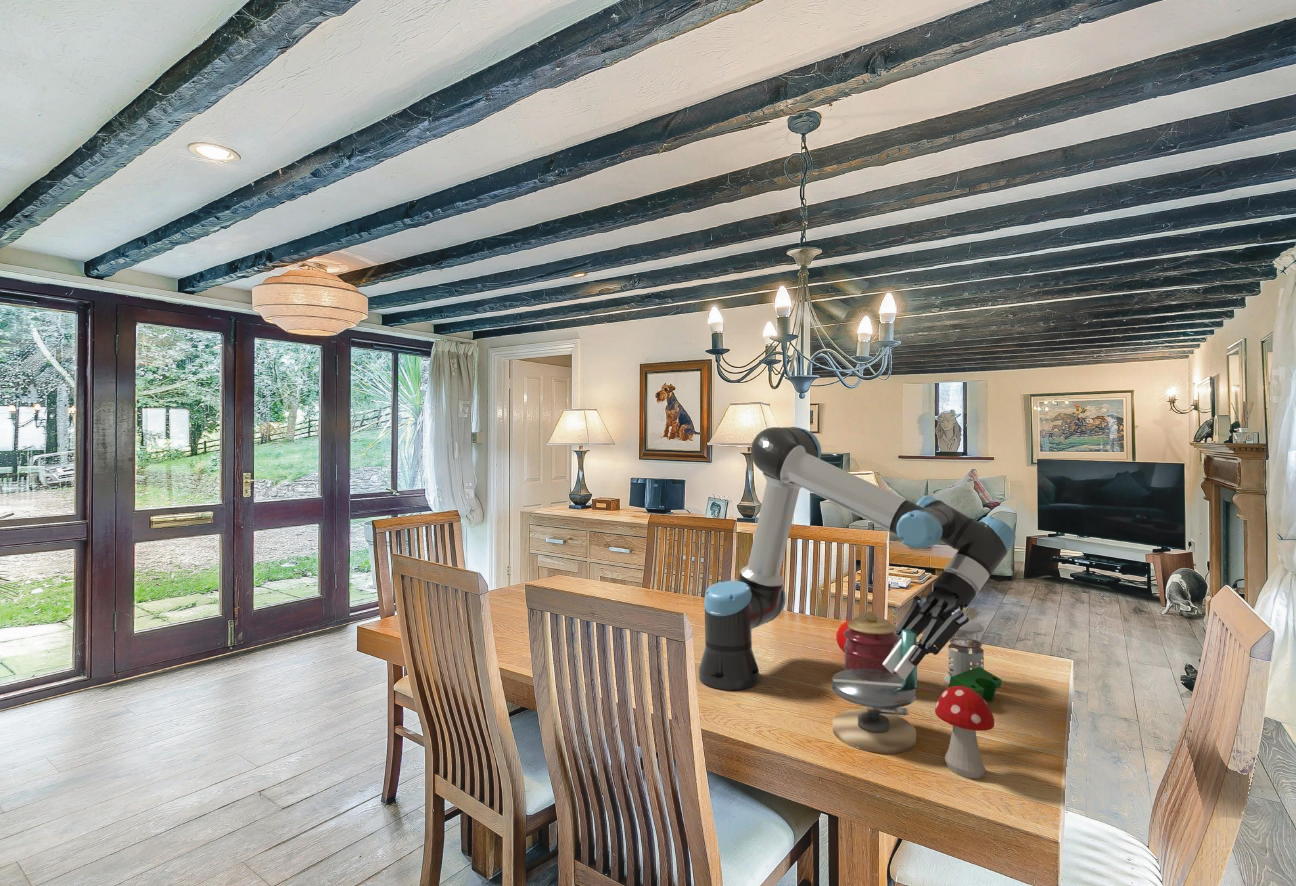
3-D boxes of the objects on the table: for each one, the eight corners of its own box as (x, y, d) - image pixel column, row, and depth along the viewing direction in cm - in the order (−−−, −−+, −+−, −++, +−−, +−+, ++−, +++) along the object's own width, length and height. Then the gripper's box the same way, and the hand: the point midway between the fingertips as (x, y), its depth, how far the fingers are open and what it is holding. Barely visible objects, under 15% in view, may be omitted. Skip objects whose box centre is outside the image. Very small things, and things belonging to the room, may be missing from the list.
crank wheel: (834, 731, 120) (833, 639, 119) (830, 697, 135) (829, 616, 135) (925, 740, 116) (924, 644, 116) (910, 704, 131) (909, 620, 131)
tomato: (885, 668, 160) (884, 628, 160) (835, 663, 164) (835, 624, 164) (883, 651, 173) (882, 614, 173) (837, 647, 177) (836, 610, 177)
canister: (871, 697, 143) (870, 622, 143) (833, 678, 155) (832, 608, 154) (912, 688, 148) (911, 614, 148) (873, 669, 160) (872, 602, 160)
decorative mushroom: (925, 765, 113) (924, 683, 113) (952, 751, 118) (951, 673, 118) (978, 790, 105) (977, 703, 105) (1005, 775, 109) (1004, 691, 109)
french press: (938, 682, 151) (937, 580, 151) (953, 668, 160) (952, 572, 159) (982, 692, 144) (981, 586, 144) (995, 678, 153) (994, 577, 153)
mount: (817, 722, 131) (817, 707, 131) (881, 711, 135) (881, 697, 135) (864, 759, 116) (864, 743, 116) (934, 745, 120) (934, 730, 120)
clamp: (971, 725, 138) (970, 696, 134) (947, 709, 143) (945, 680, 139) (1004, 695, 142) (1004, 666, 139) (979, 681, 147) (979, 652, 144)
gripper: (1002, 603, 120) (933, 699, 116) (942, 585, 136) (879, 669, 131) (980, 578, 119) (909, 674, 114) (921, 562, 134) (857, 647, 130)
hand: (893, 671), depth 123 cm, fingers closed on crank wheel, 3 cm apart
